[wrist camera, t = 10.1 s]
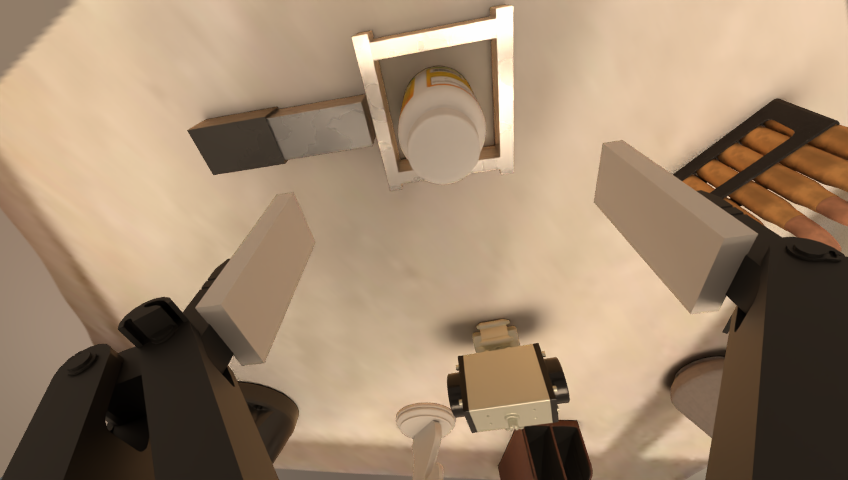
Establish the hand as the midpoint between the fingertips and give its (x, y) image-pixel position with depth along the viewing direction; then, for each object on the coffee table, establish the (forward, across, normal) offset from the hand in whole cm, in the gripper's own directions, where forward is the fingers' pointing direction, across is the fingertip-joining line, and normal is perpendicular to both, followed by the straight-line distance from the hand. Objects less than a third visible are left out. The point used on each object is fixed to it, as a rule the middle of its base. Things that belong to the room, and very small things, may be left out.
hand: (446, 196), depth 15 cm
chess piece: (+15, -8, -49) cm, 52 cm away
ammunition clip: (+14, +23, -8) cm, 28 cm away
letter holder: (+15, +10, -62) cm, 65 cm away
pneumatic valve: (+15, +4, -28) cm, 31 cm away
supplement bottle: (+14, 0, 0) cm, 14 cm away
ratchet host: (+14, -6, 0) cm, 15 cm away
